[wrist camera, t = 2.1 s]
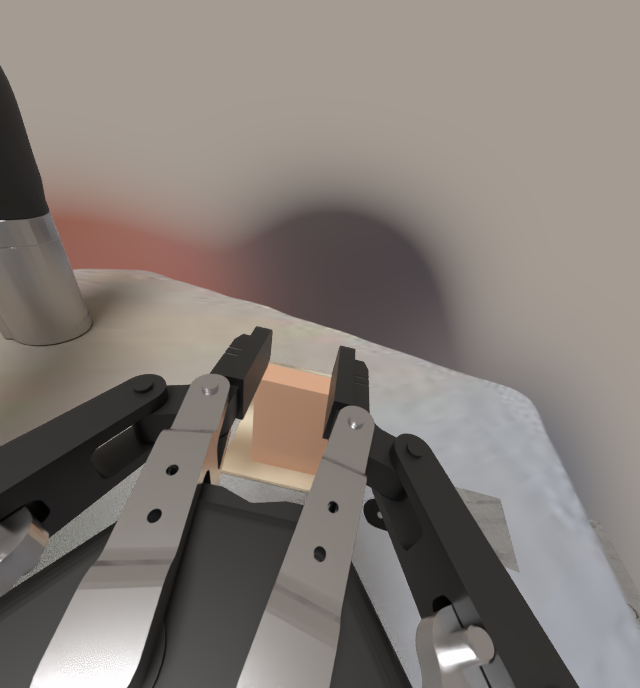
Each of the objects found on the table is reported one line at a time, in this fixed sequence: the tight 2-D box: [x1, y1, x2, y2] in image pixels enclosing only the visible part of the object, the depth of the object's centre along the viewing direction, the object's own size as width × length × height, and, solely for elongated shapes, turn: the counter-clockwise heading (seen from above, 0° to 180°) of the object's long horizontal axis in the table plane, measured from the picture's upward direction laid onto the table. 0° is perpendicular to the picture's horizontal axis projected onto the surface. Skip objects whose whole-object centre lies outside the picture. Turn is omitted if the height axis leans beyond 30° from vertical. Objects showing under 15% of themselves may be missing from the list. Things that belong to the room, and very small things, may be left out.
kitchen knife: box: [364, 487, 640, 630], centre depth 30 cm, size 29×1×10 cm
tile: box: [251, 363, 331, 475], centre depth 27 cm, size 2×8×13 cm, turn 82°
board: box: [221, 361, 332, 493], centre depth 36 cm, size 19×14×1 cm
